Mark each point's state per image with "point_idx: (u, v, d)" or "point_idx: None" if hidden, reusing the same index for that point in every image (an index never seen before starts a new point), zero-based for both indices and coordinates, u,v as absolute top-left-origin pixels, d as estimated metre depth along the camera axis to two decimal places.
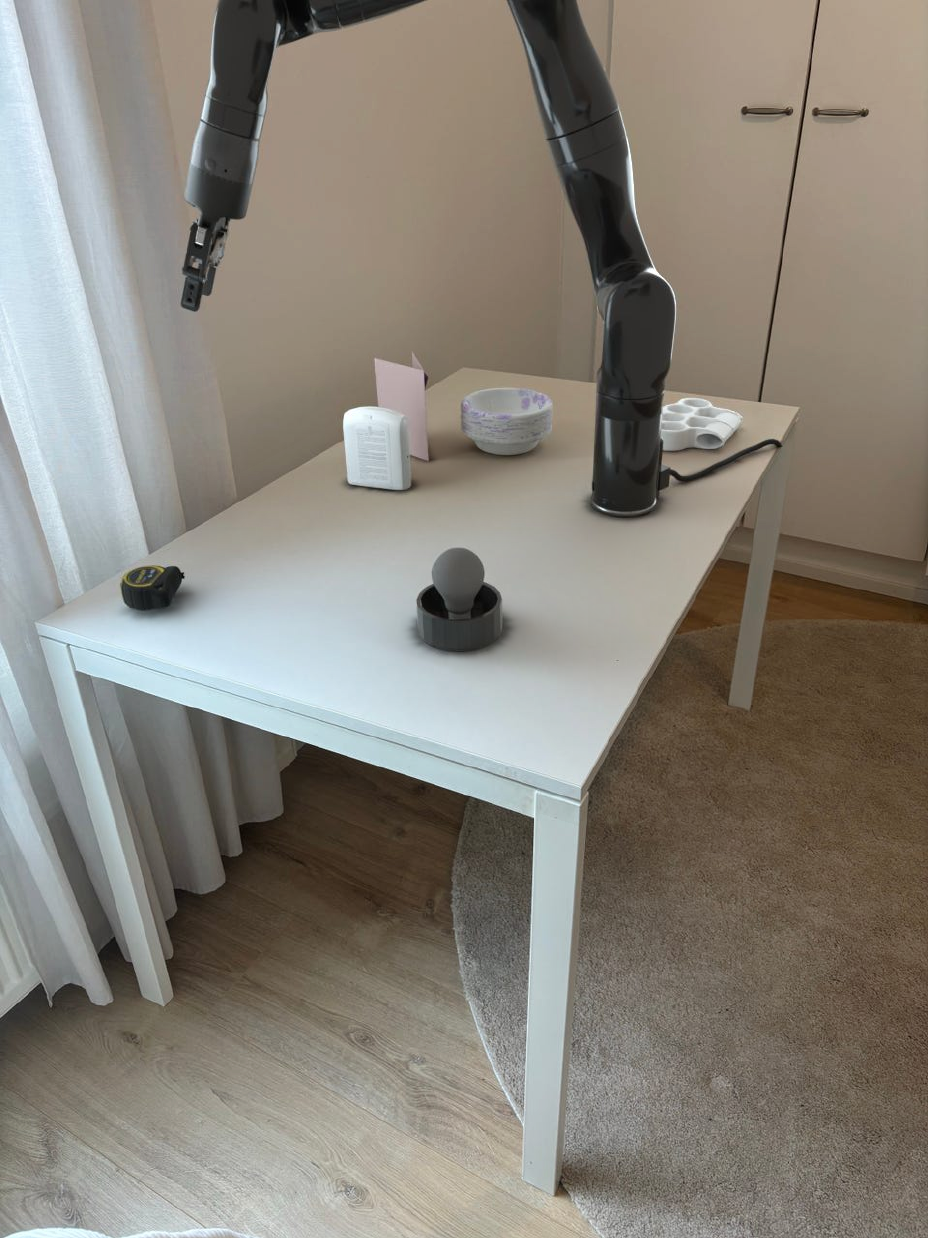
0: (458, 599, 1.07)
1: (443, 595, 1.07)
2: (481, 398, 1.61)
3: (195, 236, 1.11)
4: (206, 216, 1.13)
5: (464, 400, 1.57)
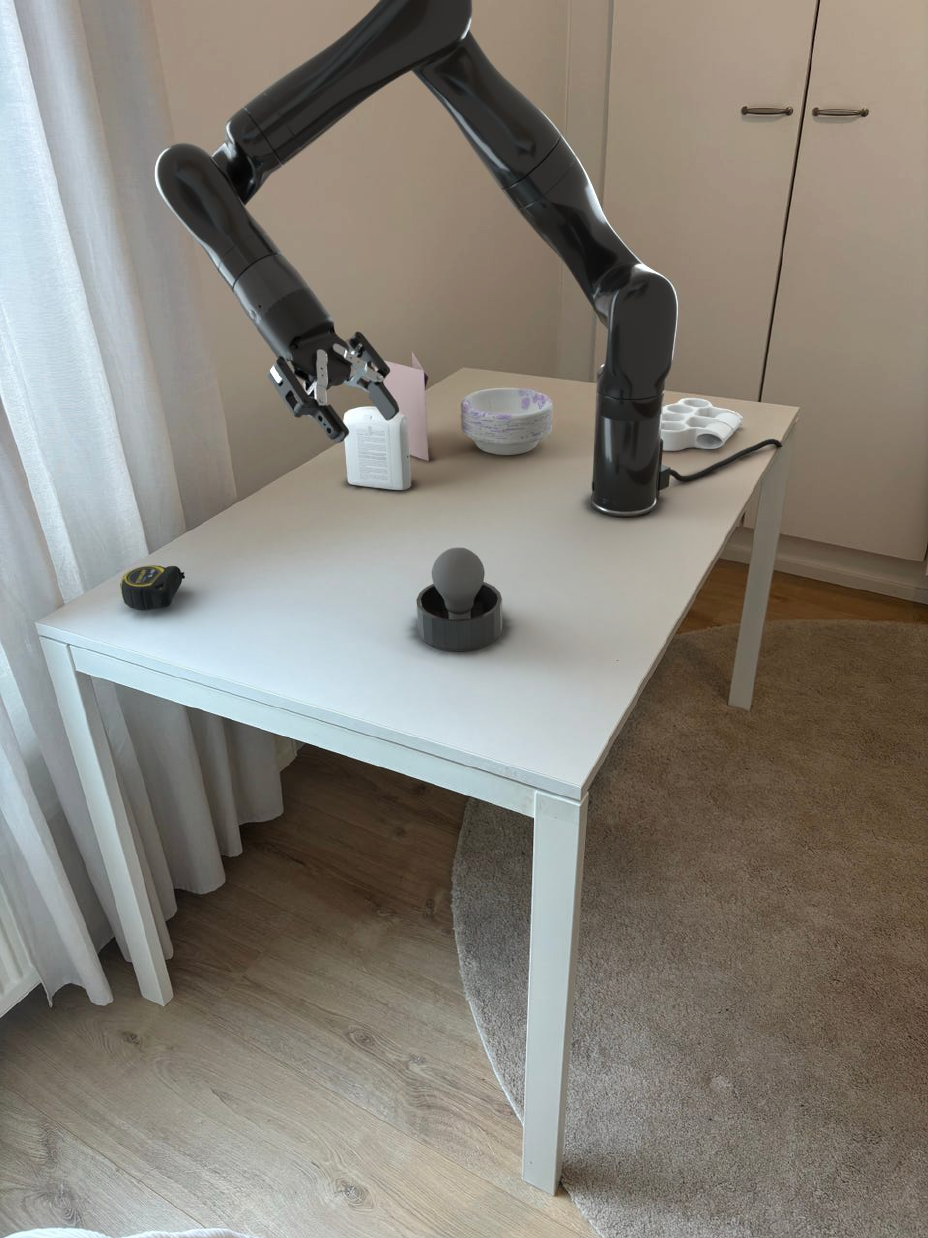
0: (458, 599, 1.07)
1: (443, 595, 1.07)
2: (481, 398, 1.61)
3: (273, 378, 1.01)
4: (285, 354, 1.03)
5: (464, 400, 1.57)
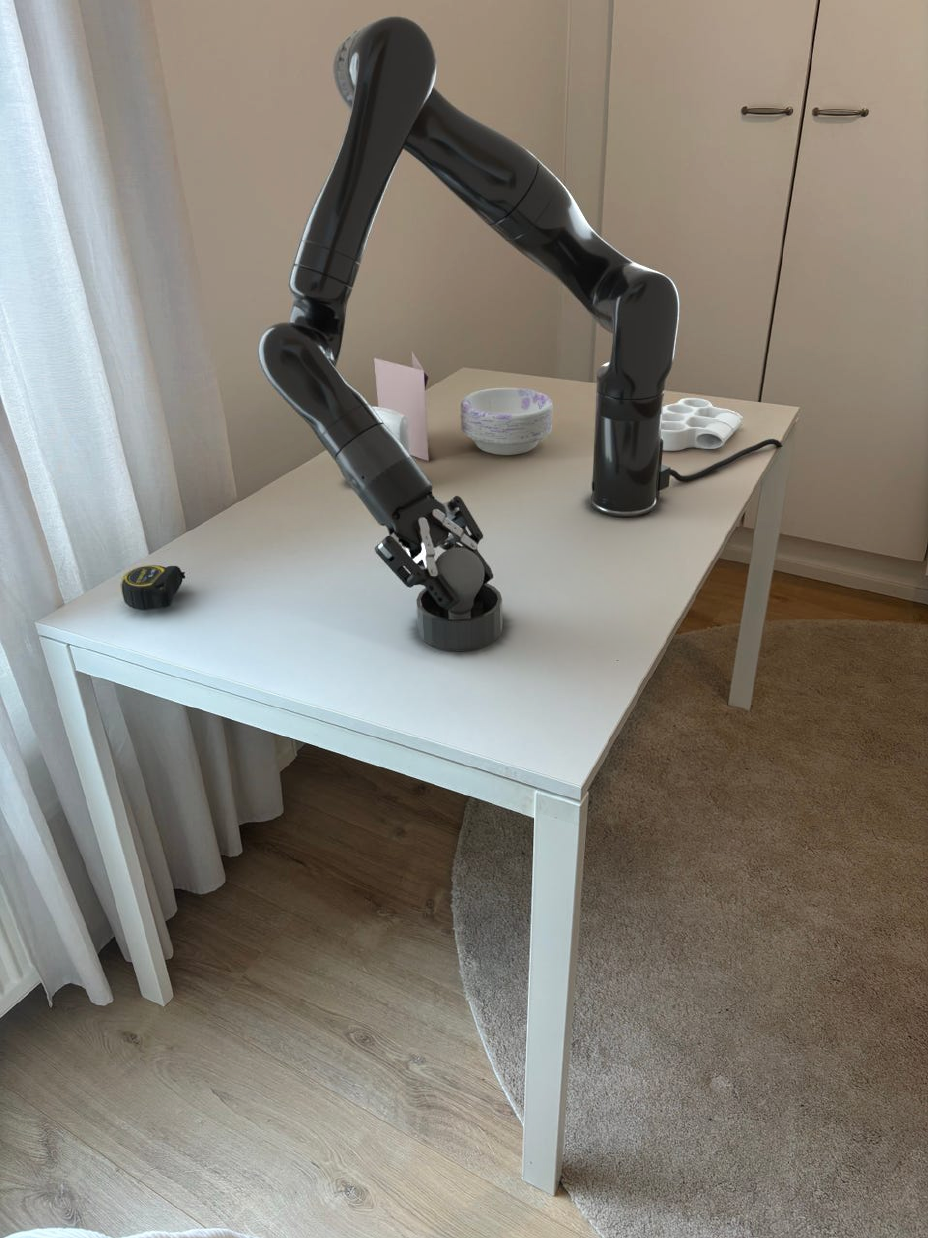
0: None
1: None
2: (481, 398, 1.61)
3: (383, 554, 1.04)
4: (387, 523, 1.05)
5: (464, 400, 1.57)
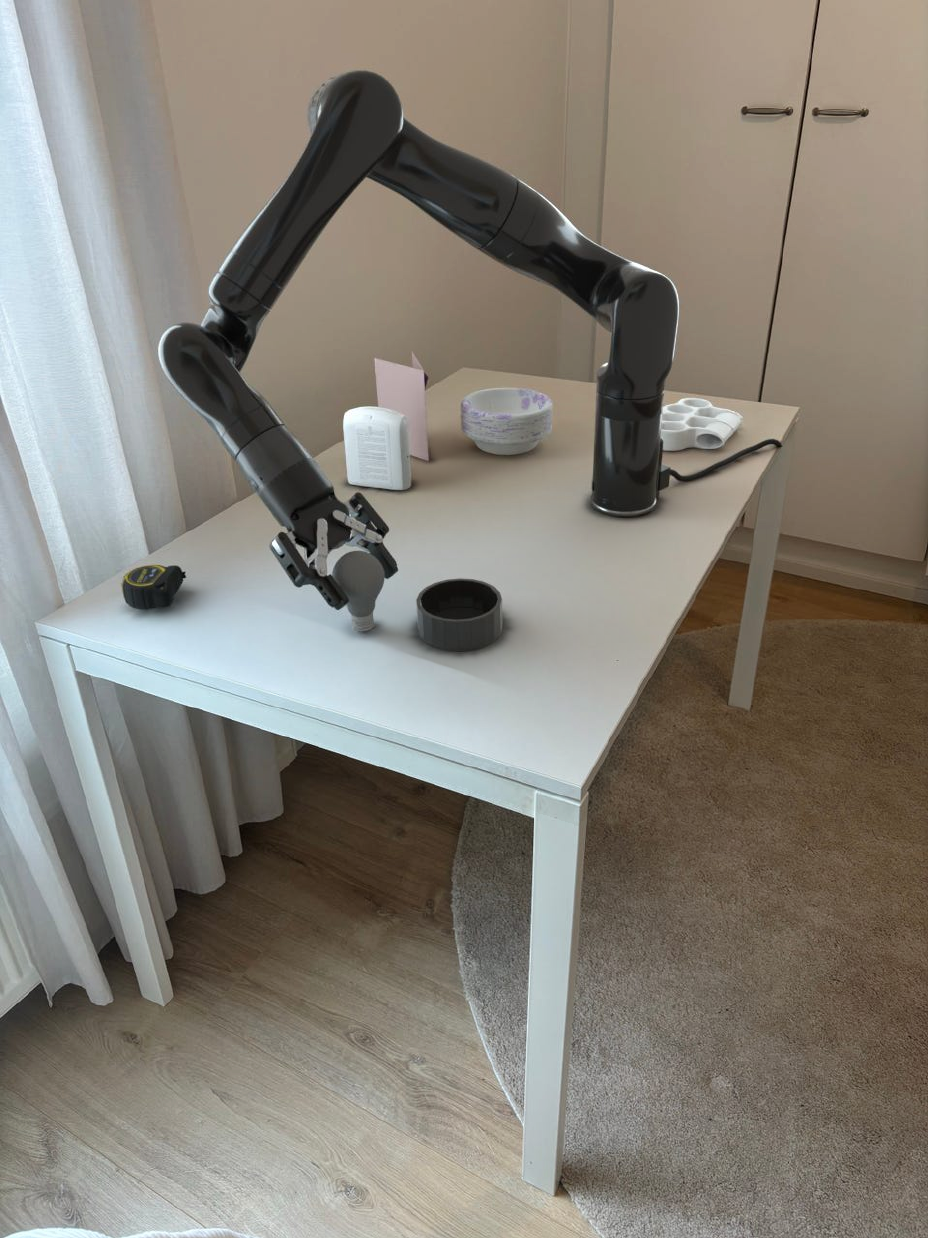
0: (357, 602, 1.08)
1: None
2: (481, 398, 1.61)
3: (275, 550, 1.04)
4: (286, 524, 1.06)
5: (464, 400, 1.57)
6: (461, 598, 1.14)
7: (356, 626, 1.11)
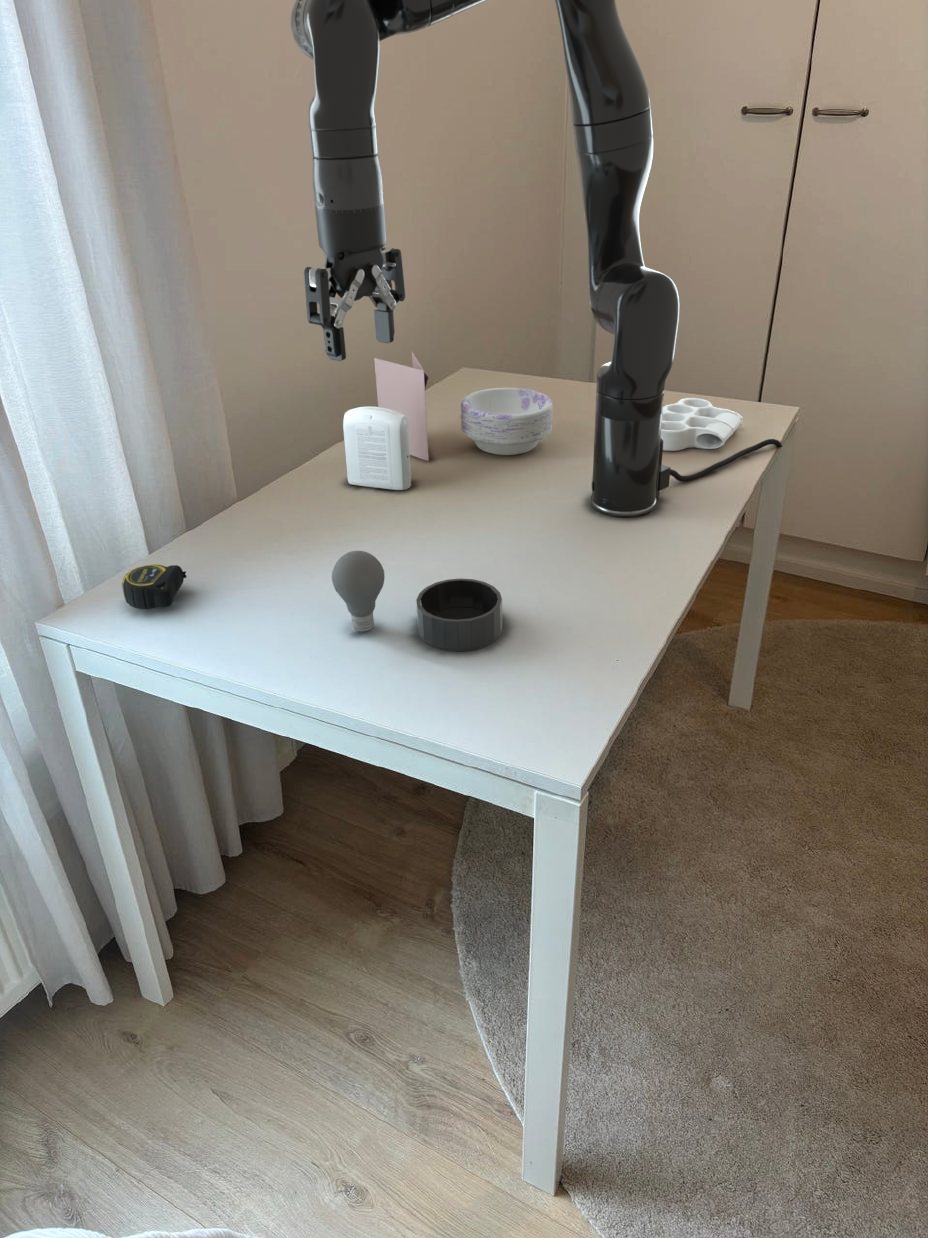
0: (357, 602, 1.08)
1: (343, 598, 1.08)
2: (481, 398, 1.61)
3: (308, 279, 1.02)
4: (329, 255, 1.03)
5: (464, 400, 1.57)
6: (461, 598, 1.14)
7: (356, 626, 1.11)
